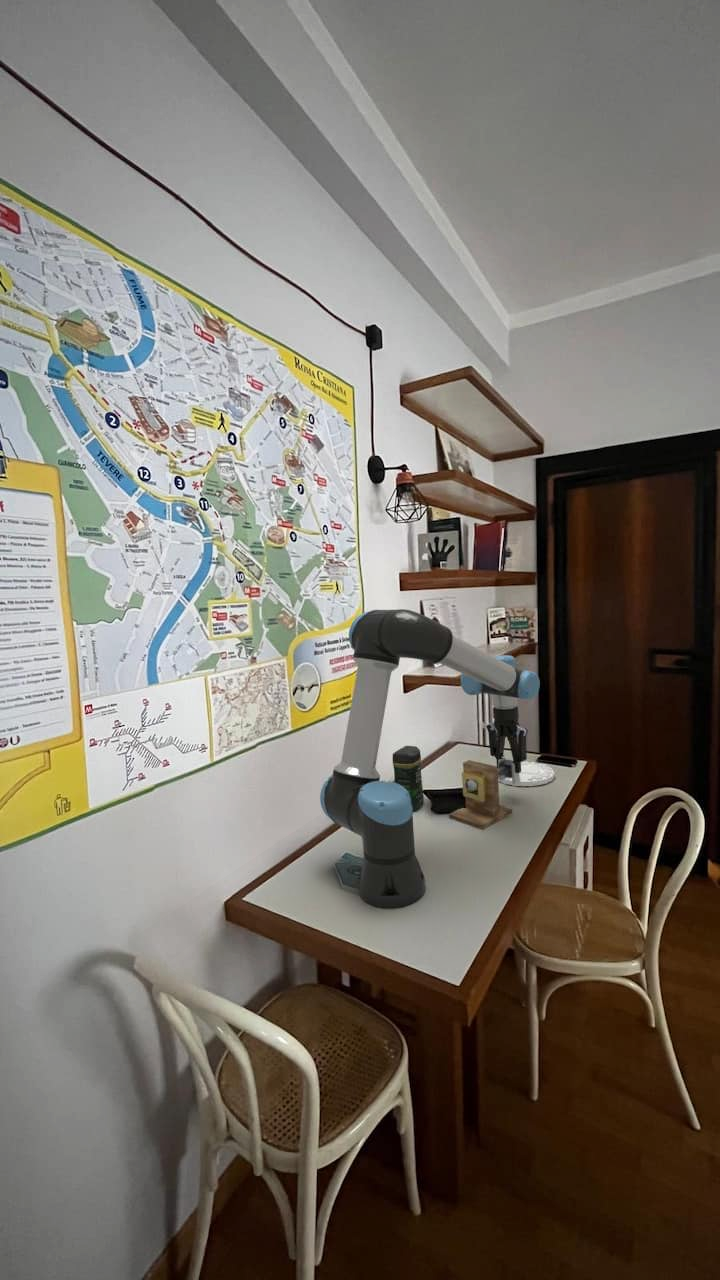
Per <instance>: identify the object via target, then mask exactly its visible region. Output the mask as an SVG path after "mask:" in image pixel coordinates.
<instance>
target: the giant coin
mask: <svg viewBox="0 0 720 1280" xmlns="http://www.w3.org/2000/svg"><path fill="white" fill-rule="evenodd" d="M519 776H520V782H518V783H516V784H513V783H512V778H508V777H507V778H506V779H504V780H502V781H500V780H499V779H498V783H499V782H500V784H503V785H504V784H505V785H510V786H511V785H512V786H511V787H516V786H518V787H520V786H521V787H524V786H532V787H533V786H540V785H546V784H549V783H550V782H553V780H554V779H555V777H556V776H555V772H554V770H553V768H552V767H550V766H548V765H547V764H545V763H536V762H535V761H530V762H529V761H527V760H525V761H523V762H521V772H520V773H519ZM548 782H549V783H548Z"/></svg>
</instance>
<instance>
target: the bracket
mask: <svg viewBox="0 0 720 1280" xmlns="http://www.w3.org/2000/svg"><path fill="white" fill-rule="evenodd" d="M462 769H463V772H464V771H467V770H468V771H472V772H476V773H480V774H483V775H487V787H488V800H486V801H484V802H482V801H478V800H475V799H472V798H469V797H465V796H464V797H465V798H464V799H465V806H466V808H462V807H461V809H460V808H459V809H456V810H453V811H452V812H450V813H448V817H449V819H451V820H454V821H458V822H459V823H463V824H464V825H465V824H466V825H469V826H471V827H474V828H477V829H480V830H484V829H487V828H489V827H490V826H493V825H494V824H496V823H497V822H499V821H501V820H503V819H505V818H506V817H508V816H510V815H512V814H513V808H509V807H506V806H503V805H501V804H500V792H499V791H500V789H499V788H500V787H499V781H498V771H497V765H491V764H487V763H482V762H480V761H475V760H470V759H469V760H466V761H464V762H462ZM476 791H478V789H476Z"/></svg>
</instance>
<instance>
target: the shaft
mask: <svg viewBox="0 0 720 1280" xmlns="http://www.w3.org/2000/svg"><path fill="white" fill-rule="evenodd" d="M512 762H513V760H512V759H506V760H504V761H502V762H500V763H499V768H497V771H498V779H500V778H502V777H508V778H512V765H511V763H512ZM465 787H466V789H467V790H468V791H469V792H472V791H474V790H476V789H478V785H477V782H476V781H472V780H469V781H467V782H466V783H465Z"/></svg>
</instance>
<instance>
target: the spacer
mask: <svg viewBox="0 0 720 1280" xmlns="http://www.w3.org/2000/svg"><path fill="white" fill-rule="evenodd" d="M461 780H462V781H461V783H462V795H463V797H469V798H472V799H475V800H478V801H482V802H484V801H486V800H488V787H487V775H483V774H480V773H476V772H472V771H468V770H467V771H463V772H461ZM469 780H472V781H476V782H477V785H478V791H476V790H474V791H472V792H469V791H468V790H467V789H466V787H465V783H466V782H467V781H469Z"/></svg>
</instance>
